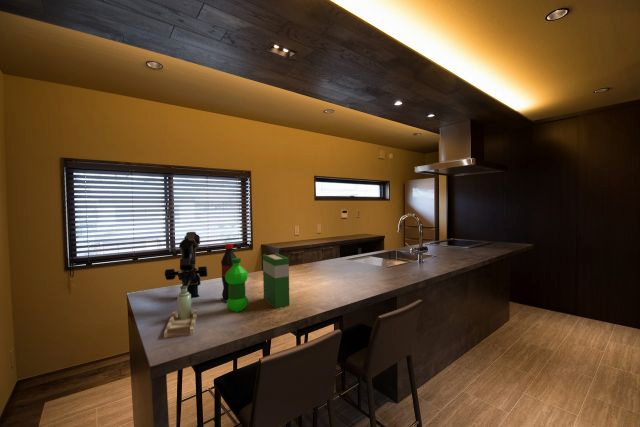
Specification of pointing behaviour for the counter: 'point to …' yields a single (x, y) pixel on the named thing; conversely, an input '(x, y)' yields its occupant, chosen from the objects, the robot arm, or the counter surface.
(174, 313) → the rest
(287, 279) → the green cereal box
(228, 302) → the plastic bottle
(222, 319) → the counter surface
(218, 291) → the counter surface
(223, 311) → the counter surface
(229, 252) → the cola bottle
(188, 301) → the glass bottle
